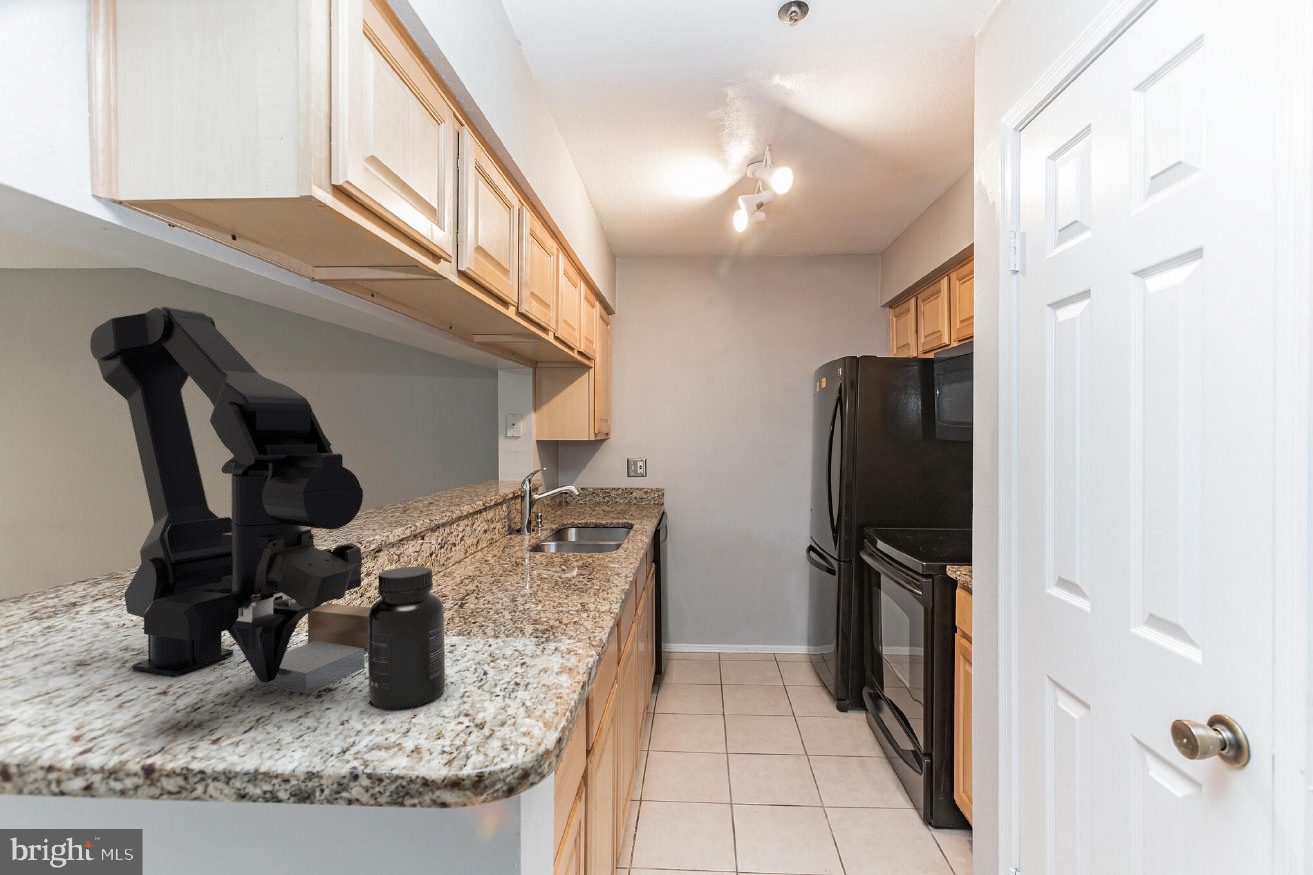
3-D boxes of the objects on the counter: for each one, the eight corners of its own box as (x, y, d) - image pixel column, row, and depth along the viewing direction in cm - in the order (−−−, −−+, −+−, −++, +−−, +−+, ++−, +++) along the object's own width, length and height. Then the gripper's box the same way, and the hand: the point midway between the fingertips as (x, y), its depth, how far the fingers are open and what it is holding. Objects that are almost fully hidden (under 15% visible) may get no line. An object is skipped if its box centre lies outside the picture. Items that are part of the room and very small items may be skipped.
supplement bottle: (421, 674, 63) (421, 560, 63) (458, 693, 59) (458, 570, 59) (354, 697, 58) (354, 572, 58) (389, 719, 54) (389, 584, 53)
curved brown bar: (307, 643, 72) (307, 610, 72) (327, 635, 75) (327, 603, 75) (407, 655, 68) (407, 620, 68) (424, 646, 71) (424, 612, 71)
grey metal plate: (255, 687, 61) (255, 663, 61) (316, 662, 67) (316, 640, 67) (306, 698, 58) (305, 673, 58) (364, 671, 65) (364, 648, 65)
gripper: (240, 543, 48) (240, 740, 48) (402, 512, 66) (402, 656, 66) (138, 535, 51) (139, 720, 51) (320, 508, 69) (320, 645, 69)
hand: (267, 680), depth 59 cm, fingers closed
